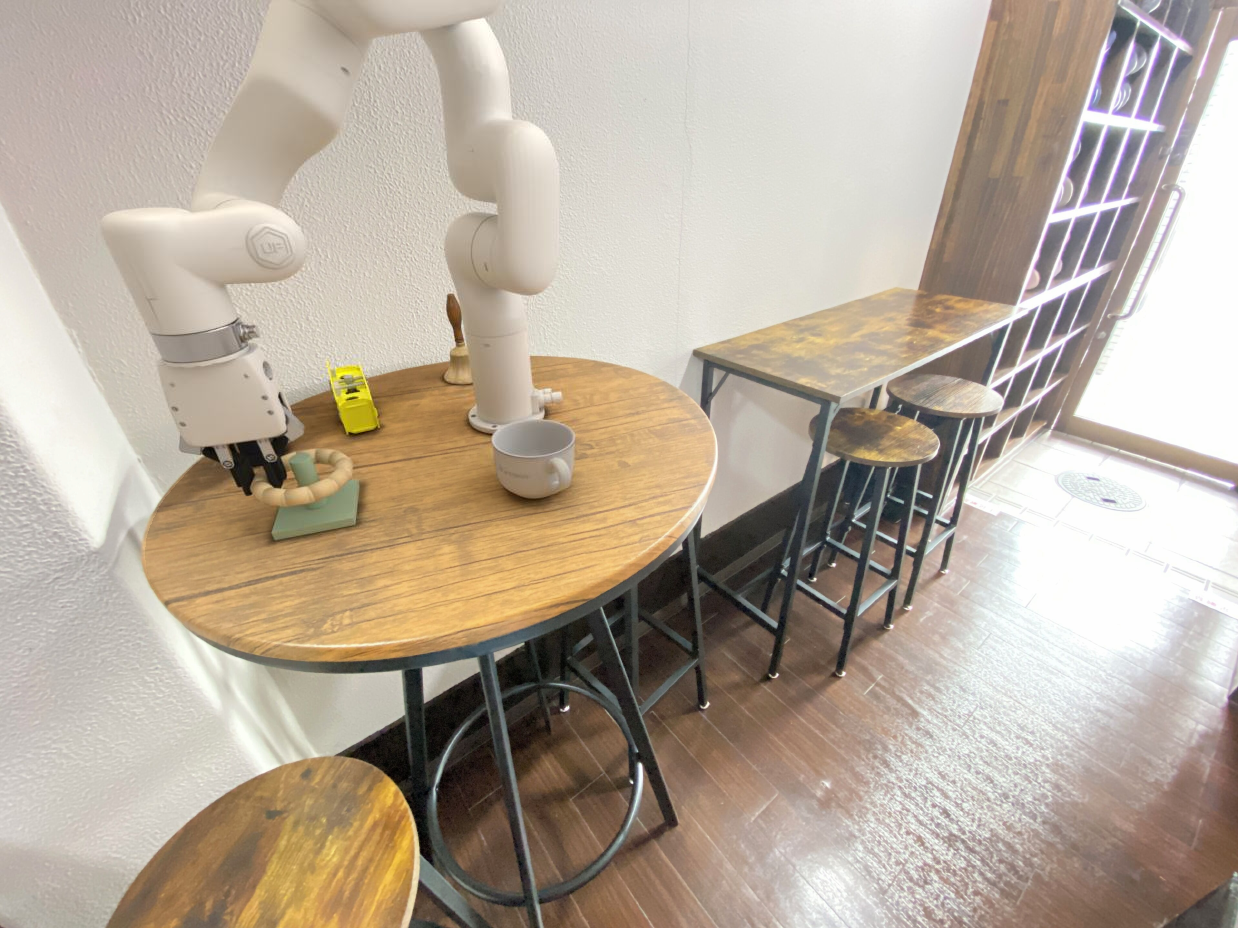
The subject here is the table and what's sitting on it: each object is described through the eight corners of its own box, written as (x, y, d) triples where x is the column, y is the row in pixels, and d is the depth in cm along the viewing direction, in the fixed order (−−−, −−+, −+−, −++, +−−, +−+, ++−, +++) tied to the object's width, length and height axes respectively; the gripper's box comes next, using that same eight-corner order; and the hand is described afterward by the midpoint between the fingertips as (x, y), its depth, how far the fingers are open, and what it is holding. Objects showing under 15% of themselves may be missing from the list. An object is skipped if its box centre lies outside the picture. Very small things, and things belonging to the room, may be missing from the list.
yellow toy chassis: (336, 400, 96) (321, 356, 91) (369, 394, 98) (357, 351, 94) (345, 440, 84) (329, 391, 80) (383, 431, 86) (370, 384, 82)
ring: (356, 453, 72) (352, 440, 71) (351, 499, 63) (347, 485, 62) (264, 467, 69) (259, 453, 68) (246, 517, 60) (239, 503, 59)
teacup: (491, 473, 76) (483, 424, 72) (563, 457, 80) (560, 409, 75) (515, 532, 65) (507, 478, 61) (597, 510, 69) (595, 458, 65)
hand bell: (465, 388, 100) (451, 303, 92) (435, 378, 104) (418, 296, 95) (496, 373, 106) (485, 292, 97) (466, 364, 110) (453, 285, 101)
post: (359, 485, 74) (343, 434, 69) (355, 525, 66) (336, 470, 62) (287, 498, 71) (265, 445, 67) (274, 540, 64) (248, 485, 60)
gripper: (294, 322, 60) (340, 460, 70) (124, 338, 56) (198, 482, 66) (283, 344, 54) (334, 491, 64) (90, 364, 50) (178, 518, 60)
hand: (265, 486), depth 65 cm, fingers closed on ring, 2 cm apart
